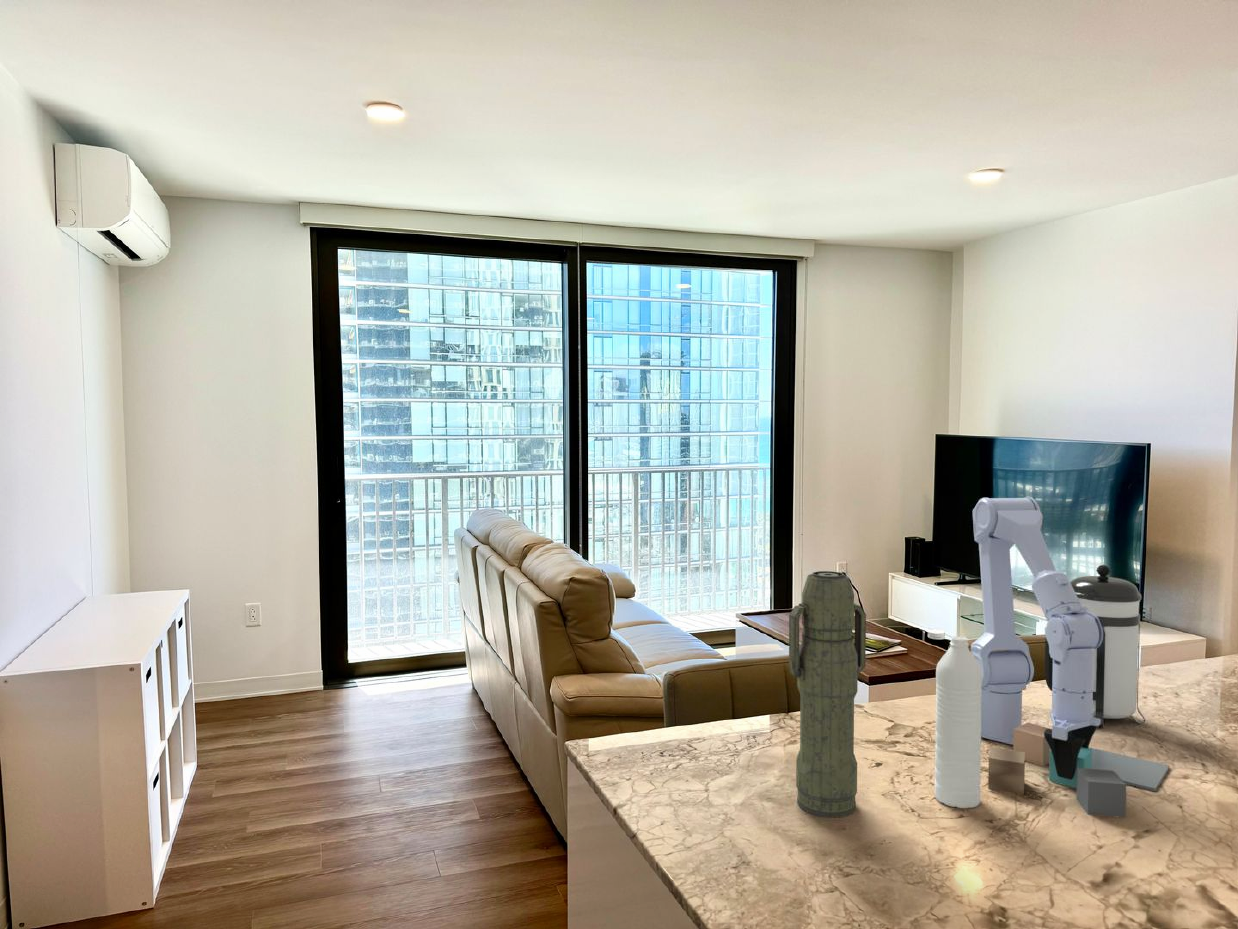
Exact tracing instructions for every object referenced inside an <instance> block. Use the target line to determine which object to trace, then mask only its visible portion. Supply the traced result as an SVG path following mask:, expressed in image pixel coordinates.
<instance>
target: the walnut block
mask: <svg viewBox="0 0 1238 929" xmlns="http://www.w3.org/2000/svg"><path fill="white" fill-rule="evenodd" d="M988 755H989V756H988V771H987V772H988V774H987V775H988V779H987V782H988V784H987V786H988V788H987V789H989V790H995V791H1000V792H1003V793H1004V792H1006V793H1010V794H1015V795H1016V794H1017V795H1022V796H1024V792H1025V774H1026V773H1025V771H1026V770H1025V766H1026V764H1025V762H1026V761H1025V752H1019V751H1013V750H1012V749H1006V748H1000V747H999V748H998V747H995V746H994V747H992V746H991V747H990V749H989V754H988Z"/></svg>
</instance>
